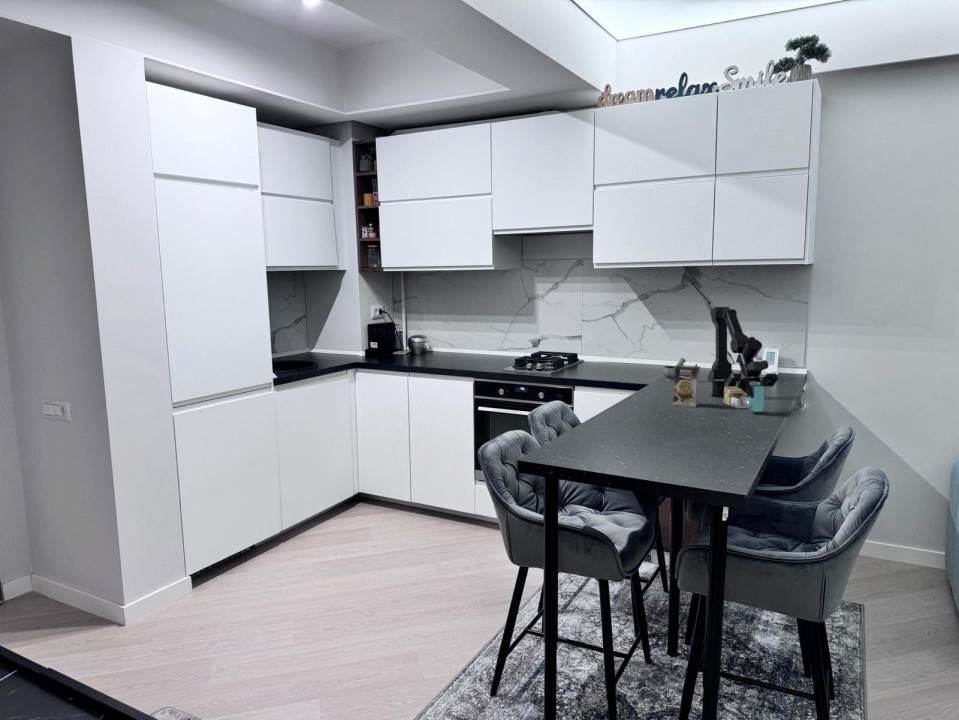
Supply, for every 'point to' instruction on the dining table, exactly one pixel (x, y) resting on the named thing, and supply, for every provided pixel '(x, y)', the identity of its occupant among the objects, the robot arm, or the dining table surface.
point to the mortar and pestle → (671, 371)
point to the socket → (732, 394)
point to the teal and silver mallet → (754, 399)
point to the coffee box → (686, 385)
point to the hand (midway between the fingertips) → (758, 397)
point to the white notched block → (737, 403)
